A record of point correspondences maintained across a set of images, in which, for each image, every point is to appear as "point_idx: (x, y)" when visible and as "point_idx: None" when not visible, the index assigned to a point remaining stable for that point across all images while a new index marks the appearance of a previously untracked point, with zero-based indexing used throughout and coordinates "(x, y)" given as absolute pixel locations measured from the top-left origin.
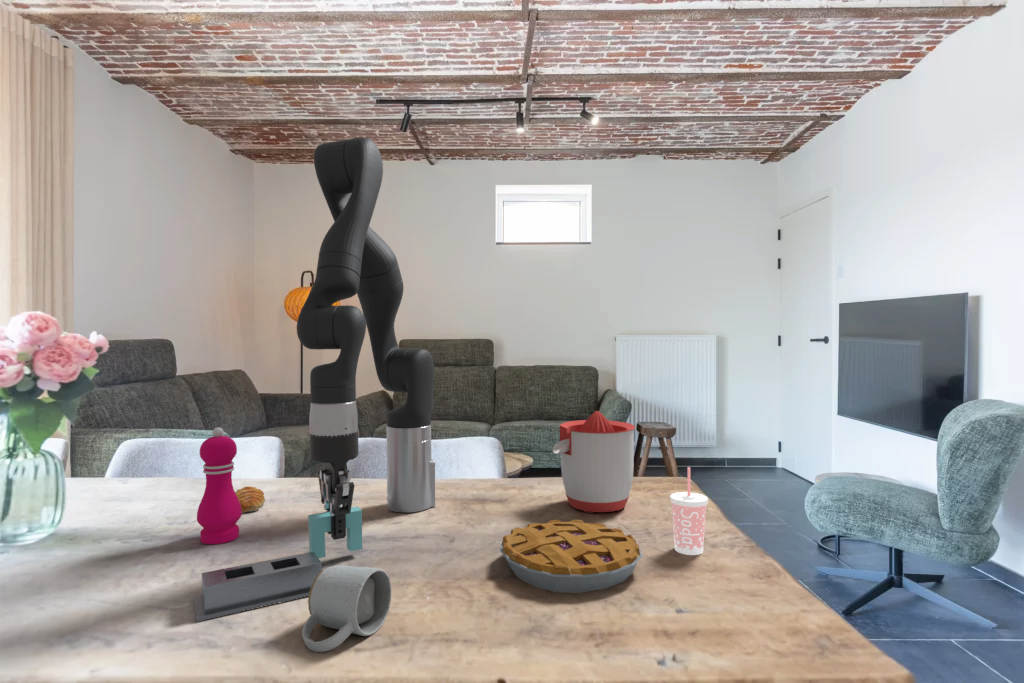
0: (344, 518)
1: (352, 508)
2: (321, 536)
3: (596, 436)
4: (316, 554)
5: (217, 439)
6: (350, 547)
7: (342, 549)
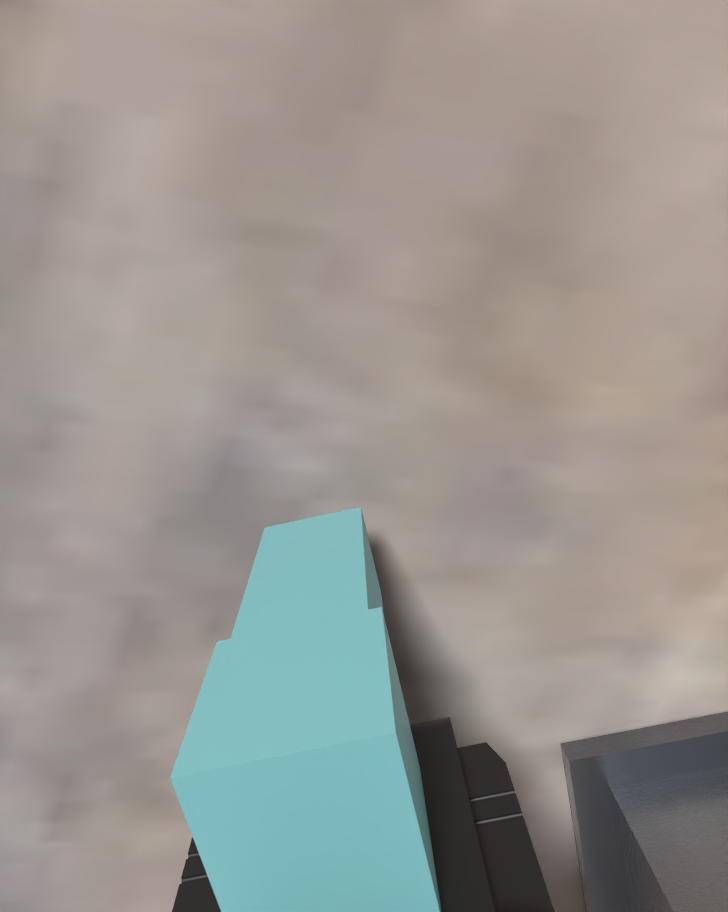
0: (483, 879)
1: (255, 839)
2: None
3: None
4: None
5: None
6: (382, 607)
7: (165, 607)
